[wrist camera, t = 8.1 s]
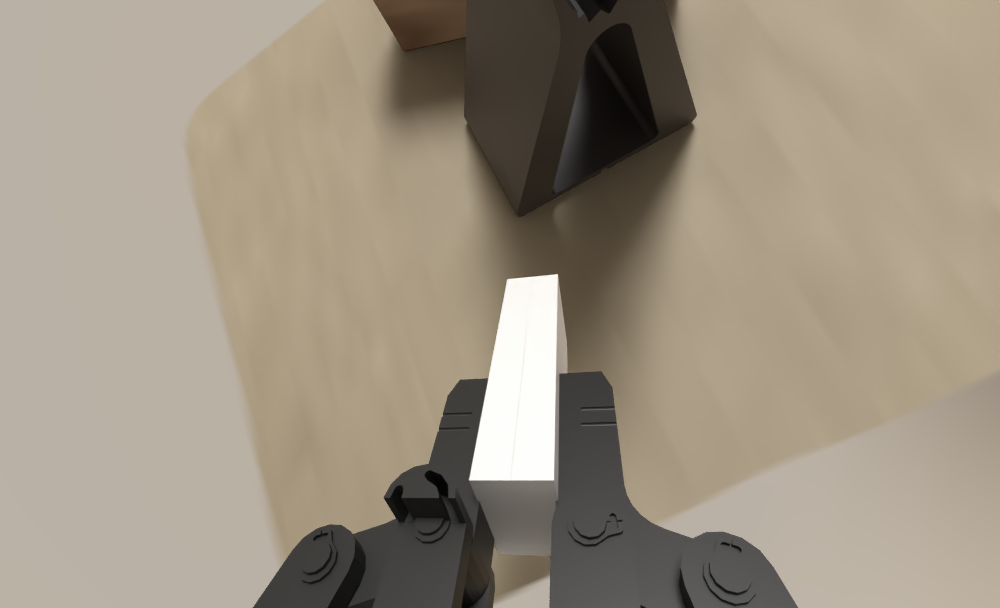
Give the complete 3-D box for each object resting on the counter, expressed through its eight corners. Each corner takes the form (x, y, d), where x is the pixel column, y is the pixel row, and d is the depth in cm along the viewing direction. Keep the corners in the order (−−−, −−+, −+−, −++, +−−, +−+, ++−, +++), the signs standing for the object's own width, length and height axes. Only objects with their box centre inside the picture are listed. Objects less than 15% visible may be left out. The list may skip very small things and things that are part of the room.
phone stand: (629, 24, 21) (669, -414, 9) (695, 121, 19) (841, -253, 8) (466, 120, 22) (319, -162, 10) (517, 218, 20) (414, 19, 9)
